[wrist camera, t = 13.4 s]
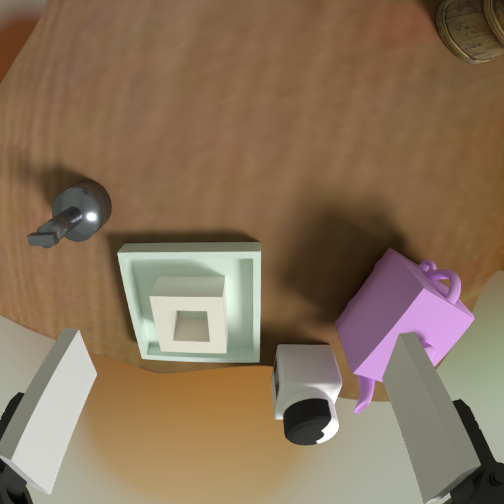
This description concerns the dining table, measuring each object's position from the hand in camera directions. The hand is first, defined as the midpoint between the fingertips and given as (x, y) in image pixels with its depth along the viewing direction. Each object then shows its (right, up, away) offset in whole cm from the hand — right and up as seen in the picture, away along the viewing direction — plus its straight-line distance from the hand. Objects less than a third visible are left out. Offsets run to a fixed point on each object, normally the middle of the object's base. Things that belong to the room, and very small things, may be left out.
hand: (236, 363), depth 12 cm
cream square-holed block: (-6, -2, +27) cm, 28 cm away
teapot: (+18, -2, +28) cm, 33 cm away
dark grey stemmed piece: (-18, +10, +22) cm, 30 cm away
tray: (-6, -2, +27) cm, 28 cm away
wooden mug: (+28, +30, +13) cm, 44 cm away
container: (+8, -12, +32) cm, 35 cm away
